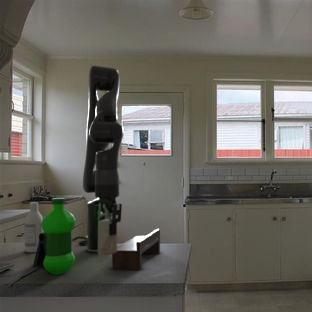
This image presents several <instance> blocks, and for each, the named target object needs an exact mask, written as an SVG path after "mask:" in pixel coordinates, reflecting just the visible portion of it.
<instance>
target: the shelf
mask: <svg viewBox="0 0 312 312" xmlns="http://www.w3.org/2000/svg"><path fill="white" fill-rule="evenodd" d="M160 253H161V229H160V228H156V229H154V230H153V231H152V232H150V233H148V234H147V235H135V236H134V237H132V238H130V239H129V240H127V241H125V242H124V243H122V244H120V245H118V246H117V252H116V253H113V254H111V269H112V270H125V271H128V270H129V271H141V270H142V268H143V265H142V264H143V263H142V254H149V255H151V254H152V255H153V254H154V255H159V254H160Z"/></svg>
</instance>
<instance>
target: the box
mask: <svg viewBox="0 0 312 312" xmlns="http://www.w3.org/2000/svg"><path fill="white" fill-rule="evenodd" d="M117 247H118V223H117V224H116V235H112V236H111V235H109V220H108V219H104V220H101V221H98V253H97V255H98V256H112V254H113V253H116V252H117Z"/></svg>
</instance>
